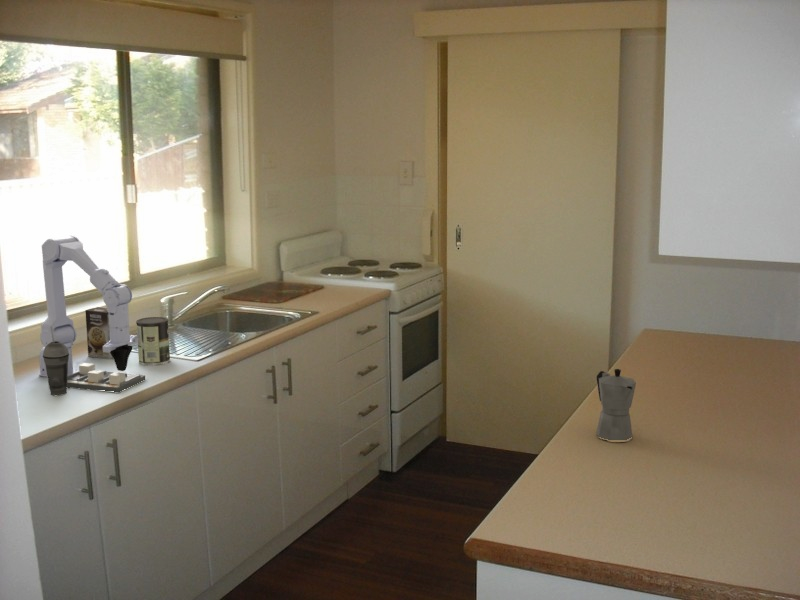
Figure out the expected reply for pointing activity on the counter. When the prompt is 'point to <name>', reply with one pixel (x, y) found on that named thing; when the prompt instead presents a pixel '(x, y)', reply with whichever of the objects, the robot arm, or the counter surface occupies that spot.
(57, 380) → the beverage cup
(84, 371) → the tab left
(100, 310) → the coffee box
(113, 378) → the tab right
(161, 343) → the coffee can
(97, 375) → the tab middle
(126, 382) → the switch panel
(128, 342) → the robot arm
